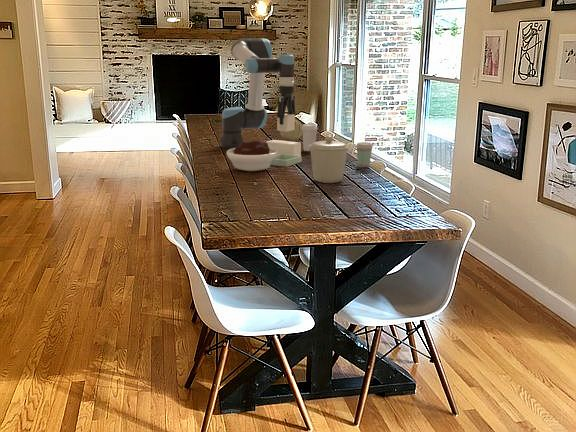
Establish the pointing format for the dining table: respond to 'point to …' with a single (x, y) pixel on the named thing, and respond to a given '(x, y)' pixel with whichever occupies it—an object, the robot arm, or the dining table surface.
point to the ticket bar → (285, 147)
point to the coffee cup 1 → (308, 135)
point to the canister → (328, 160)
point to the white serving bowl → (252, 156)
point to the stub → (287, 122)
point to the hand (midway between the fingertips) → (286, 129)
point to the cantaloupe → (293, 133)
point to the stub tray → (286, 160)
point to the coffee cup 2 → (364, 154)
